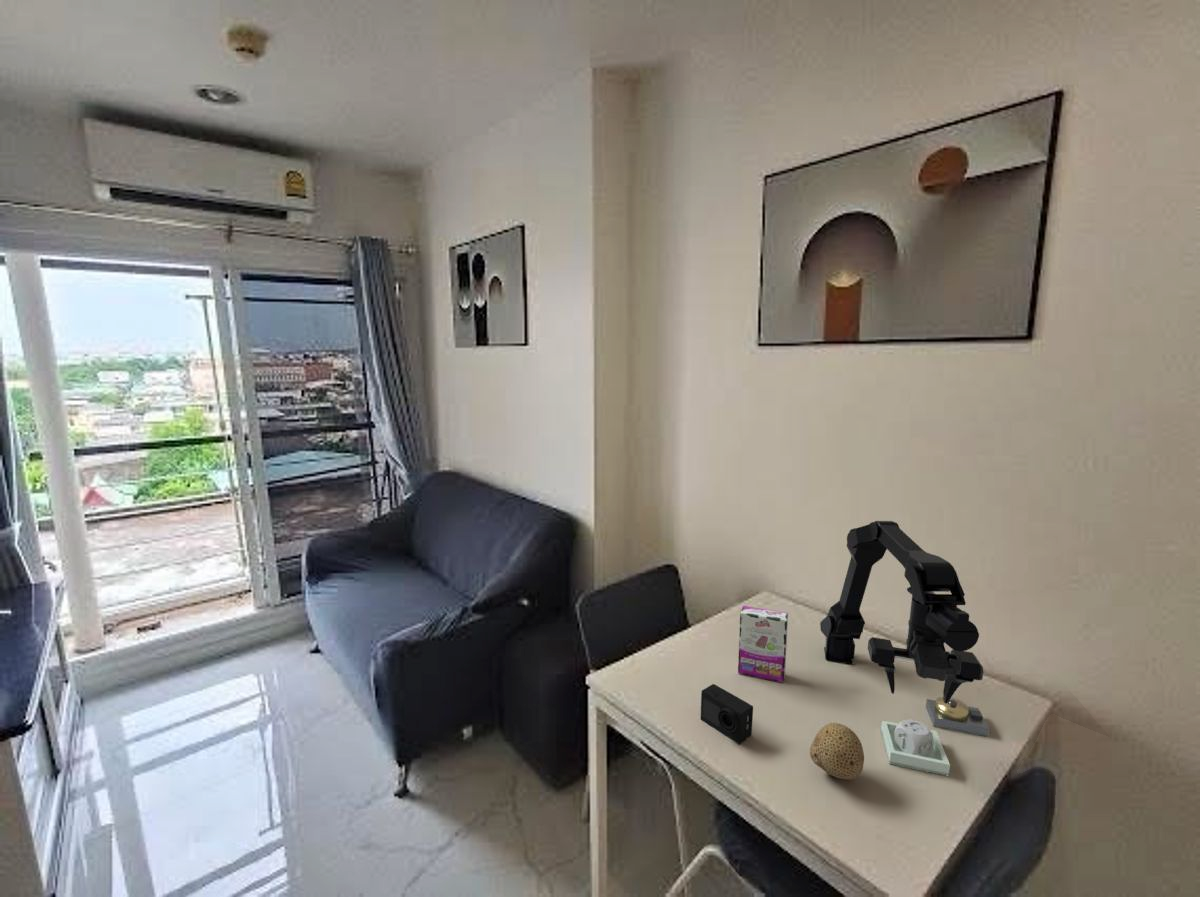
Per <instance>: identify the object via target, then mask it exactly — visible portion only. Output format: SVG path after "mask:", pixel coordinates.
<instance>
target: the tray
mask: <svg viewBox="0 0 1200 897" xmlns="http://www.w3.org/2000/svg"><path fill="white" fill-rule="evenodd" d="M898 724H899V723H897V722H891V721H886V720H882V721H881V727H880V733H881V736H882V740H883V745H884V748H885V752H886V756H887V759H888V764H890V765H893V766H898V767H902V768H907V769H911V768H912V769H911V770H915V771H920V770H921V771H920V772H924V771H928V772H927V773H929V772H933V773H932V774H934V773H938V774H942V775H941V776H943V775H948V776H949V775H950V768H951V765H950V761H949V759H948V755H947V754H946V751H945V749H944V747H943V744H942V742H941V740H940V737H939V734H938V732H937V730H933V729H929V730H930V732H931V733H932V736H933V739H934V747H933V749H932V751H931V753H930V754H929V755H928V756H926V757H923V756H918V755H913V754H908V753H904V752H903V751H902V750H901V749H900V748H899V747H898V745H897V743H896V741H895V737H894V732H895V729H896V727H897V725H898ZM938 774H937V775H938Z"/></svg>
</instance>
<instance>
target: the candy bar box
mask: <svg viewBox="0 0 1200 897" xmlns="http://www.w3.org/2000/svg"><path fill="white" fill-rule="evenodd" d="M788 619H789V612H786V611H779V610H773V609H767V608H761V607H754V606H748V605H742V608H741V611H740V614H739V639H738V640H739V641H738V659H737V660H738V662H737V663H738V664H737V673H738V674H739V675H743V676H746V677H747V676H748V677H751V678H752V677H753V678H756V679H758V678H759V679H762V680H767V681H773V682H778V683H783V684H784V682H785V676H786V660H787V645H788V644H787V642H788V623H789V622H788V621H789V620H788Z"/></svg>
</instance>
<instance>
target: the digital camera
mask: <svg viewBox="0 0 1200 897" xmlns="http://www.w3.org/2000/svg"><path fill="white" fill-rule="evenodd" d="M700 696H701V697H700V720H701V721H702V722H703V723H705V724H707V725H708V726H710V727H712V728H713V729H714V730H716V731H718V732H719V733H721V734H722V735H724V736H725V737H727V738H728V739H730V740H732V741H733V742H735V743H736V744H738V745H741V744H742V743H743V742H745V741H747V740H748V739H749V738H750V737H752V734H753V732H752V731H753V716H754V705H752V704H750V703H749V702H747V701H746V700H743V699H741V698H740V697H738V696H737V695H734V694H732V693H731V692H729V691H727V690H725V689H724V688H722V687H720V686H718V685H717V684H715V683H712V684H711V685H709V686H707V687H705V688H703V689H702V690H701V695H700Z"/></svg>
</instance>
